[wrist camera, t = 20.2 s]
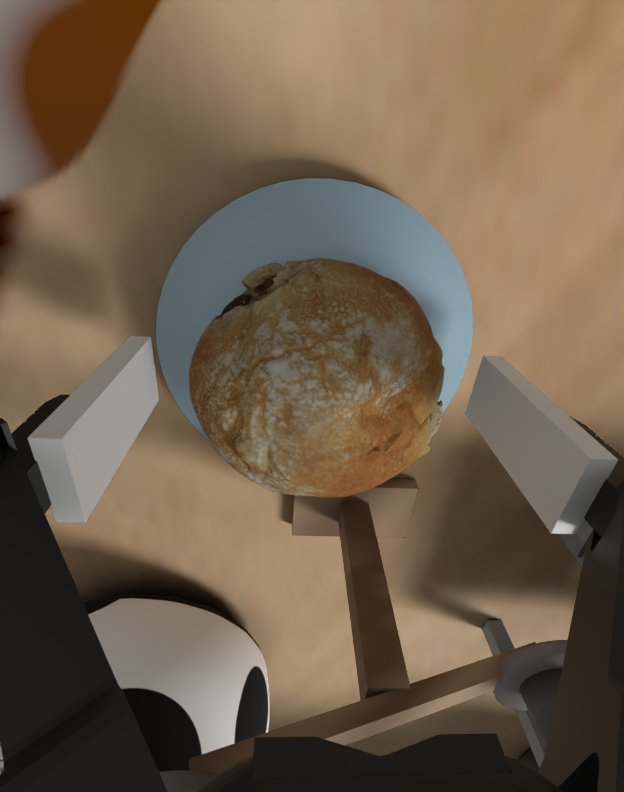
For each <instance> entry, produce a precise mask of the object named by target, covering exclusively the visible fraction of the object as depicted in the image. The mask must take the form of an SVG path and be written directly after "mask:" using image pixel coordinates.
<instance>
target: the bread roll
mask: <svg viewBox="0 0 624 792" xmlns="http://www.w3.org/2000/svg"><path fill="white" fill-rule="evenodd" d="M241 282H242V284H243V285H244V286H245V287H246V288H247V290H246V291H244V292H243V293H242V294H241V295H239V296H238V297H236V298H234V299H233V300H232V301H231V302H230V303H229V304H228V305H227V306H226V307H225V308H224V309H223V312H222V313H221V315H218V316H216V317H215V318H214V319H213V320H212V321H211V322H210V323H209V325H208V326H207V328H206V329H205V331H204V332H203V334H202V335H201V337H200V339H199V341H198V343H197V345H196V347H195V350H194V353H193V356H192V359H191V364H190V368H189V390H190V395H191V396H190V398H191V401H192V405H193V408H194V411H195V413H196V416H197V418H198V420H199V423H200V425H201V428H202V431H203V432H204V433H205V435H206V436H207V438H208V439H209V440H210V442H211V444H212V445H213V447H214V448H215V450H216V451H217V452H218V453H219V455H220V456H221V457H222V458H223V459H224V460H225V461H226V462H228V463H229V464H230V465H231V466H232V467H233V468H234V469H236V470H237V471H238V472H240V473H241V474H243V475H244V476H246V477H247V478H248V479H250V480H252V481H254V482H256V483H258V484H260V485H261V486H263V487H265V488H267V489H270V490H272V491H274V492H278V493H284V494H290V495H295V496H314V497H322V498H337V497H339V498H340V497H347V496H350V495H354V494H358V493H360V492H364V491H367V490H370V489H372V488H374V487H376V486H378V485H380V484H383V483H384V482H386V481H387V480H389V479H391V478H393V477H394V476H396V475H398V474H399V473H400V472H401V471H402V470H404V469H406V468H408V467H409V466H410V465H412V464H413V463H414V462H415V461H416V460H418V459H419V458H421V457H422V456H424V455H425V454H427V453H428V452H429V450H430V445H429V442H430V440H431V436H433V435H434V434H435V433H436V432H437V430H438V429H439V427H440V422H441V419H442V417H443V409H442V406H443V403H442V401H441V400H440V401H439V402H438V400H439V397H440V394H441V391H442V386H443V380H444V371H445V367H444V366H443V364H442V359H443V352H442V349H441V347H440V346H439V344H438V342H437V341H436V339H435V338H434V336H433V333H432V329H431V326H430V324H429V322H428V320H427V318H426V316H425V314H424V312H423V310H422V309H421V307H420V305H419V304H418V302H417V300H416V299H415V298H414V297H413V296H412V295H411V294H410V293H409V292H408V291H407V290H406V289H405V288H404V287H403V286H402V285H400V284H399V283H398V282H397V281H394V280H392V279H389V278H387V277H383V276H381V275H380V274H378V273H376V272H374V271H372V270H370V269H367V268H365V267H363V266H360V265H357V264H354V263H349V262H343V261H339V260H335V259H328V258H320V257H318V258H314V259H309V260H302V261H287V262H286V264H285V265H284V266H282V265H281V264H279V263H270V264H268V265H266V266H261V267H258V268H256V269H254V270H252V271H251V272H250V273H249V274H248V275H247V276H246V277H245V278H244V279H243V280H242V281H241Z"/></svg>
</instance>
